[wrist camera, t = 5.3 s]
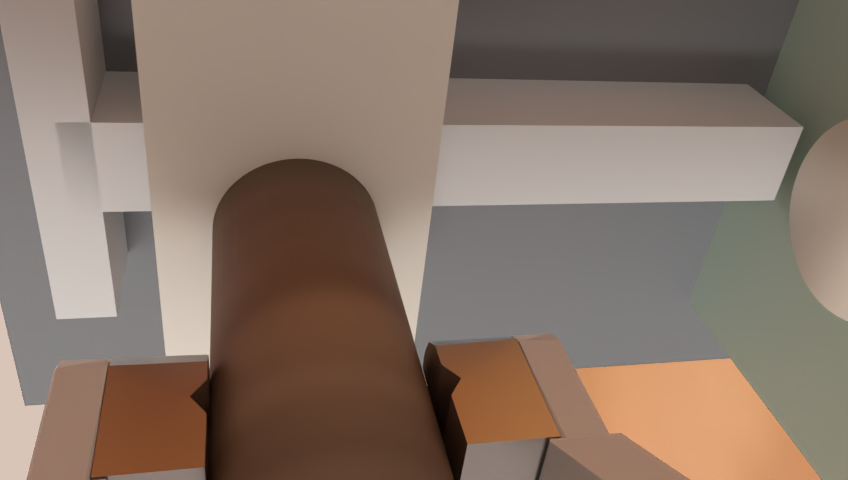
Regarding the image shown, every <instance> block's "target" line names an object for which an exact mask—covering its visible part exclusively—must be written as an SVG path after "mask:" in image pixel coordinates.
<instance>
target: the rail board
mask: <svg viewBox="0 0 848 480" xmlns="http://www.w3.org/2000/svg"><path fill="white" fill-rule="evenodd" d="M0 302H1V306H2V310H3V315H4V319H5V323H6V327H7V332H8V336H9V340H10V344H11V349H12V353H13V356H14V361H15V365H16V370H17V374H18V378H19V382H20V386H21V391H22V395H23V399H24V403H25V406H27V405H41V404H45V403H46V399H47V395H48V391H49V387H50V383H51V379H52V375H53V371H54V370H55V368H56V367H57V365H58V364H59V362H60V361H61V360H91V359H112V358H121V357H150V356H166V354H165V344H164V334H163V323H162V313H161V303H160V292H159V282H158V272H157V262H156V251H155V241H154V231H153V220H152V210H151V200H150V190H149V179H148V169H147V159H146V148H145V138H144V128H143V118H142V107H141V97H140V87H139V76H138V66H137V56H136V46H135V35H134V25H133V15H132V5H131V0H0ZM544 333H552V334H554V335H555V336H556V337H558V338H559V340H560V342H561V344H562V345H563V347H564V349H565V351H566V353H567V355H568V357H569V359H570V361H571V362H572V364H573V366H574V368H575V369H577V368H591V367H606V366H621V365H636V364H651V363H666V362H680V361H695V360H710V359H725V358H731V360H732V361H733V362H734V364H735V365H736V366H737V368H738V369H739V370H740V372H741V373H742V374H743V376H744V377H745V378H746V380H747V381H748V382H749V384H750V385H751V386H752V388H753V389H754V390H755V392H756V393H757V394H758V396H759V397H760V398H761V400H762V401H763V402H764V404H765V405H766V406H767V408H768V409H769V410H770V412H771V413H772V414H773V416H774V417H775V418H776V420H777V421H778V422H779V424H780V425H781V426H782V428H783V429H784V430H785V432H786V433H787V434H788V436H789V437H790V438H791V440H792V441H793V442H794V444H795V445H796V446H797V448H798V449H799V450H800V452H801V453H802V454H803V456H804V457H805V458H806V460H807V461H808V462H809V464H810V465H811V466H812V468H813V469H814V470H815V472H816V473H817V474H818V476H819V477H820V478H821V480H848V0H459V6H458V13H457V21H456V29H455V36H454V44H453V52H452V59H451V67H450V75H449V82H448V90H447V98H446V105H445V113H444V121H443V128H442V136H441V144H440V151H439V159H438V167H437V174H436V182H435V190H434V197H433V205H432V213H431V220H430V228H429V236H428V243H427V251H426V259H425V266H424V274H423V282H422V289H421V297H420V305H419V312H418V320H417V328H416V335H415V346H416V350H417V353H418V357H419V360H420V363H421V367H423V360H424V354H425V350H426V347H427V345H428V343H429V342H435V341H450V340H466V339H481V338H497V337H511V336H517V335H531V334H544ZM422 370H423V368H422ZM423 374H424V372H423ZM424 377H425V375H424Z"/></svg>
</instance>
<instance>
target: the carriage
mask: <svg viewBox="0 0 848 480" xmlns="http://www.w3.org/2000/svg"><path fill="white" fill-rule="evenodd" d="M131 5H132V15H133V25H134V35H135V46H136V56H137V66H138V76H139V87H140V97H141V107H142V118H143V128H144V138H145V148H146V159H147V169H148V179H149V190H150V200H151V210H152V220H153V231H154V241H155V251H156V262H157V272H158V282H159V292H160V303H161V313H162V323H163V334H164V344H165V354H166V356H179V355H208V356H209V367H210V425H209V429H208V442H209V480H454V477H453V474H452V471H451V467H450V464H449V460H448V457H447V453H446V450H445V446H444V443H443V439H442V436H441V433H440V429H439V426H438V422H437V419H436V415H435V412H434V408H433V405H432V401H431V398H430V395H429V391H428V388H427V384H426V381H425V377H424V374H423V370H422V367H421V363H420V360H419V357H418V353H417V350H416V346H415V335H416V328H417V320H418V312H419V305H420V297H421V289H422V282H423V274H424V266H425V259H426V251H427V243H428V236H429V228H430V220H431V213H432V205H433V197H434V190H435V182H436V174H437V167H438V159H439V151H440V144H441V136H442V128H443V121H444V113H445V105H446V98H447V90H448V82H449V75H450V67H451V59H452V52H453V44H454V36H455V29H456V21H457V13H458V6H459V0H131Z"/></svg>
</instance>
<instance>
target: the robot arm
mask: <svg viewBox="0 0 848 480" xmlns="http://www.w3.org/2000/svg"><path fill="white" fill-rule="evenodd" d="M422 368H423V372H424V375H425V379H426V382H427V386H428V387H427V388H428V391H429V395H430V398H431V401H432V405H433V408H434V412H435V415H436V419H437V422H438V426H439V429H440V433H441V436H442V439H443V443H444V446H445V450H446V453H447V457H448V460H449V464H450V467H451V471H452V474H453V477H454V480H689V479H688V478H687V477H685V476H684V475H682V474H681V473H679V472H678V471H676V470H675V469H673V468H672V467H670V466H669V465H667V464H666V463H664V462H663V461H662V460H660V459H659V458H657V457H656V456H654V455H653V454H651V453H650V452H648V451H647V450H645V449H644V448H642V447H641V446H639V445H638V444H636V443H635V442H634V441H632V440H631V439H629V438H628V437H626V436H625V435H623V434H622V433H618V434H609V433H608V431H607V429H606V427H605V425H604V423H603V421H602V419H601V417H600V416H599V414H598V412H597V410H596V408H595V406H594V404H593V402H592V400H591V398H590V397H589V395H588V393H587V391H586V389H585V387H584V385H583V383H582V381H581V380H580V378H579V376H578V374H577V372H576V370H575V368H574V366H573V364H572V362H571V361H570V359H569V357H568V355H567V353H566V351H565V349H564V347H563V345H562V344H561V342H560V340H559V338H558V337H556V336H555V335H554V334H552V333H544V334H531V335H517V336H511V337H497V338H481V339H466V340H450V341H435V342H429V343H428V345H427V347H426V350H425V354H424V360H423V367H422ZM209 425H210V367H209V356H208V355H179V356H150V357H121V358H112V359H91V360H61V361H60V362H59V364H58V365H57V367H56V368H55V370H54V371H53V375H52V379H51V383H50V387H49V391H48V395H47V399H46V403H45V408H44V412H43V416H42V420H41V424H40V428H39V432H38V436H37V440H36V444H35V448H34V452H33V456H32V460H31V464H30V468H29V472H28V476H27V480H209V442H208V429H209Z"/></svg>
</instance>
